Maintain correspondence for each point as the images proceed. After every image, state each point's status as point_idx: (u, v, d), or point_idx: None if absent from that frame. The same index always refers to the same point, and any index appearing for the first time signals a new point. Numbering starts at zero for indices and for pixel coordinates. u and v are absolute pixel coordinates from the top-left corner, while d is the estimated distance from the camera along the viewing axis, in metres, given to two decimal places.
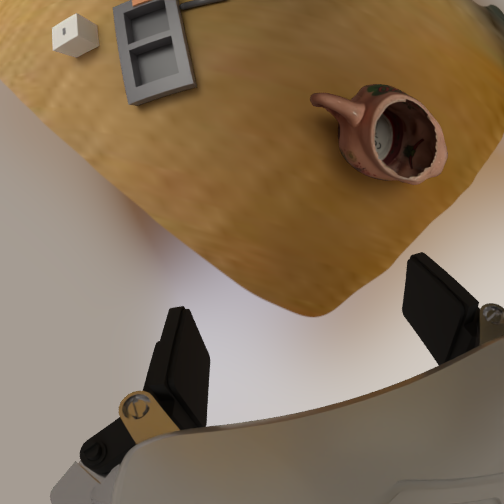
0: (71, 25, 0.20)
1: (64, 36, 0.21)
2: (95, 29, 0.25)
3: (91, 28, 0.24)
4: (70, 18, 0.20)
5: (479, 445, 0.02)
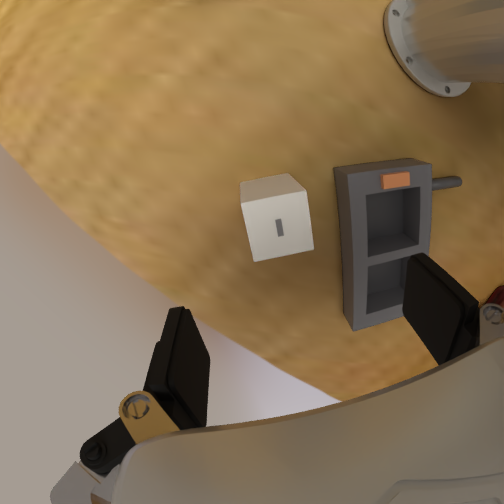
0: (295, 217, 0.19)
1: (280, 240, 0.19)
2: None
3: None
4: (292, 199, 0.18)
5: (479, 445, 0.02)
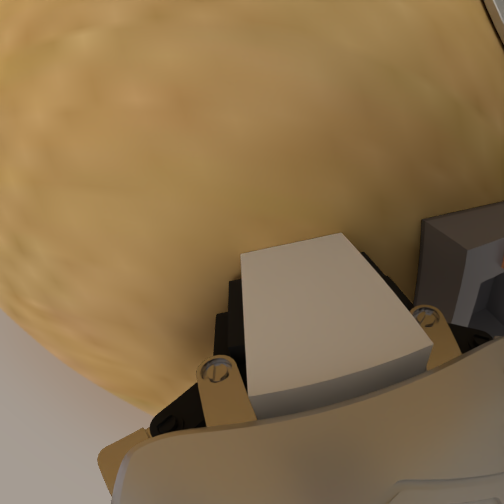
0: None
1: None
2: None
3: None
4: (394, 370, 0.05)
5: (479, 445, 0.02)
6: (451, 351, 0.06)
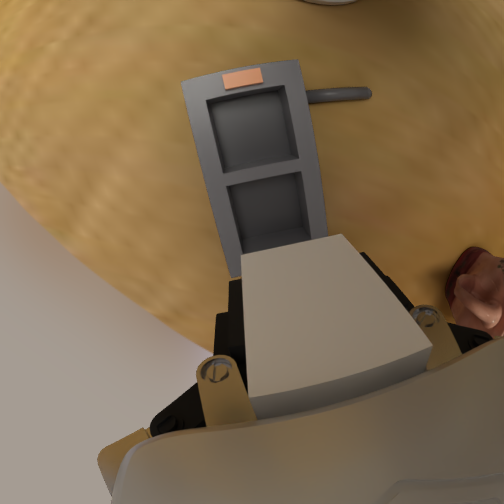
0: None
1: None
2: None
3: None
4: (394, 371, 0.05)
5: (479, 445, 0.02)
6: (451, 351, 0.06)
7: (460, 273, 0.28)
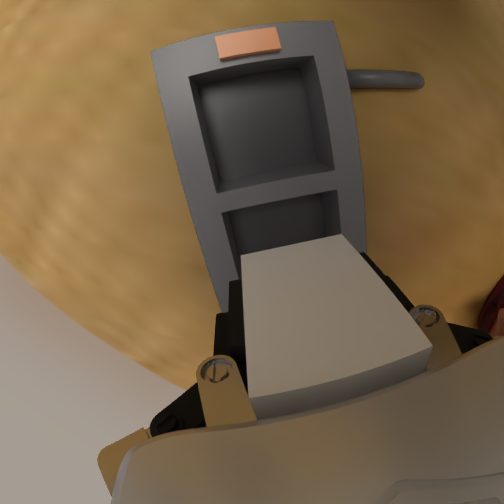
0: None
1: None
2: None
3: None
4: (394, 371, 0.05)
5: (479, 445, 0.02)
6: (451, 351, 0.06)
7: (498, 304, 0.21)
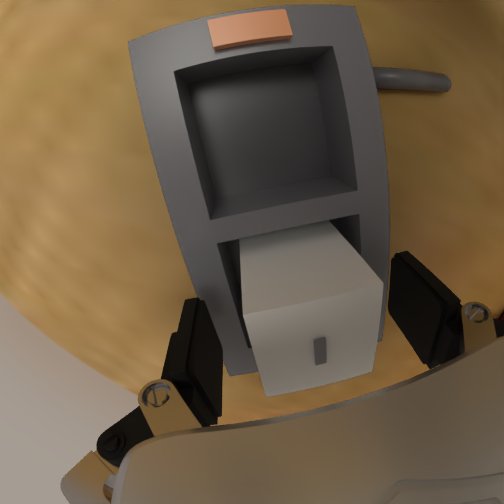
0: (353, 332, 0.09)
1: (317, 368, 0.09)
2: None
3: None
4: (353, 302, 0.08)
5: (479, 445, 0.02)
6: None
7: None
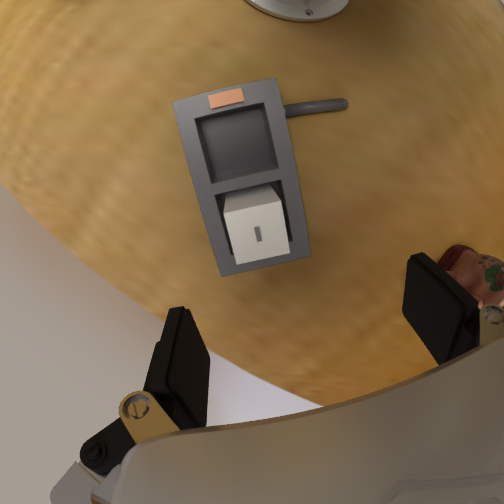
0: (272, 225, 0.21)
1: (259, 245, 0.22)
2: None
3: None
4: (268, 208, 0.21)
5: (479, 445, 0.02)
6: None
7: None
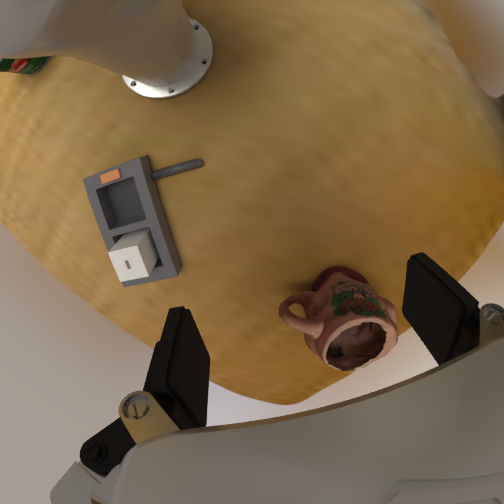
0: (134, 259, 0.32)
1: (130, 271, 0.33)
2: None
3: (151, 241, 0.36)
4: (130, 250, 0.32)
5: (479, 445, 0.02)
6: None
7: (314, 289, 0.42)
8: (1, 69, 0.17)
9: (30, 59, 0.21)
